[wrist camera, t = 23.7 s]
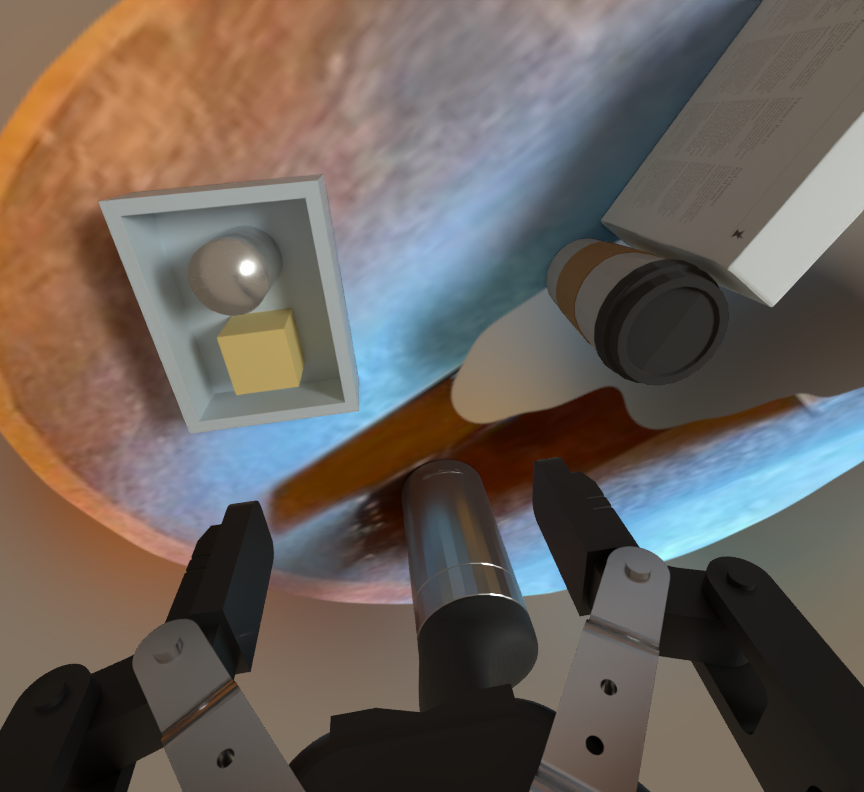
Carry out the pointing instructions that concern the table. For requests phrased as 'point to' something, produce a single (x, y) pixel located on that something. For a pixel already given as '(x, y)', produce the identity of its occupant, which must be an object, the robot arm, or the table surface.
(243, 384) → the ochre cube
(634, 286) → the coffee cup
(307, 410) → the tote
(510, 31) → the table surface
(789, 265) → the skincare box
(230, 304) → the metal cylinder
